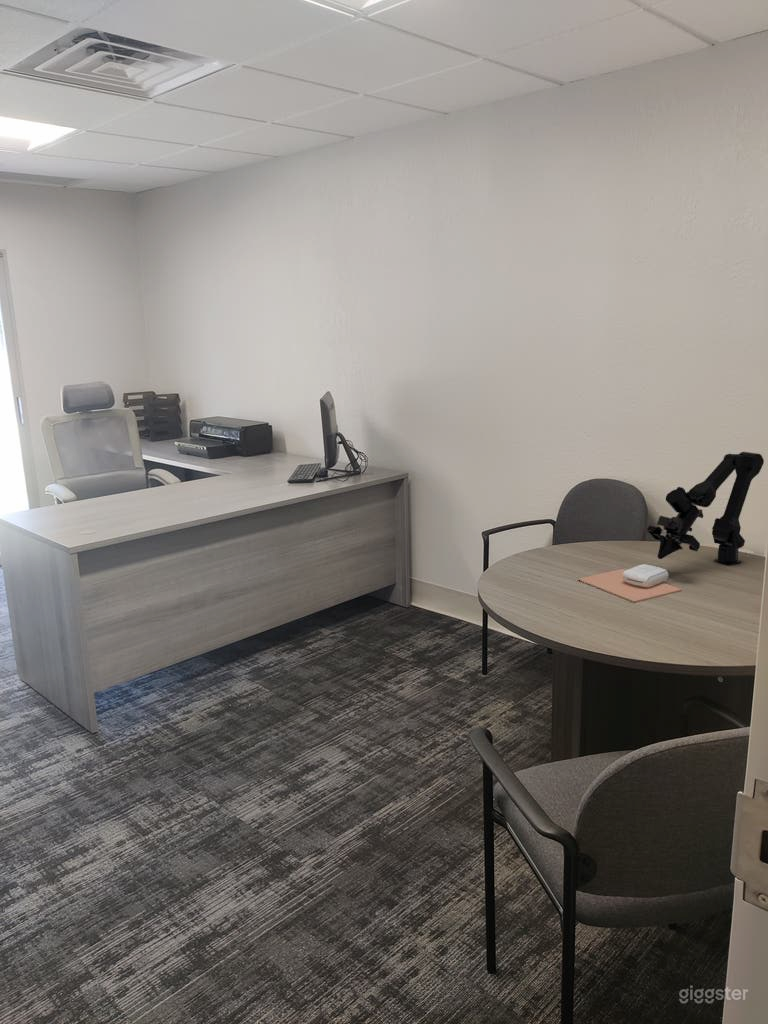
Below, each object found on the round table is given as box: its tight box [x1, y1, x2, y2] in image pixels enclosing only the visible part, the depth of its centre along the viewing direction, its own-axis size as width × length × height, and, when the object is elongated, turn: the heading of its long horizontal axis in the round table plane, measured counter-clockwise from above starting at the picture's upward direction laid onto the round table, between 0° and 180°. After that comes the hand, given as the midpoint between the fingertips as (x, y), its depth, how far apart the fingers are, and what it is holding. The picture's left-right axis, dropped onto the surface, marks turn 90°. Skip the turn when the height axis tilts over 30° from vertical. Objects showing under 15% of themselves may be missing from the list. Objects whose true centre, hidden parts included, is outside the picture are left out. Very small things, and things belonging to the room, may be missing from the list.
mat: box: [577, 568, 683, 603], centre depth 251 cm, size 20×26×1 cm
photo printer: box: [622, 563, 669, 587], centre depth 251 cm, size 10×4×12 cm
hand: (658, 558), depth 255 cm, fingers closed
